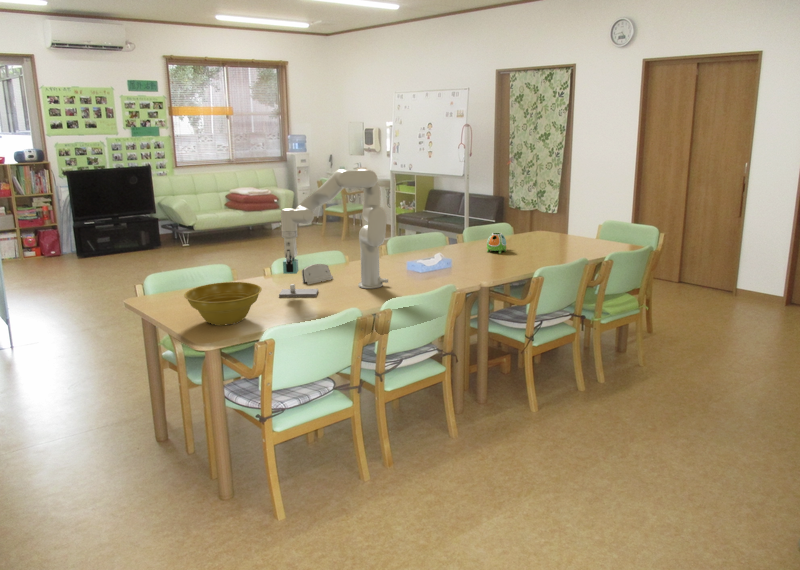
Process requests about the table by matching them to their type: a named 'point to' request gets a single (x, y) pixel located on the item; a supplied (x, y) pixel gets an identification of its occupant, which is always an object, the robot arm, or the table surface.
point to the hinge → (316, 273)
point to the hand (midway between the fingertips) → (290, 270)
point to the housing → (295, 266)
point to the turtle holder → (496, 242)
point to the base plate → (298, 292)
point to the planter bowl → (223, 301)
